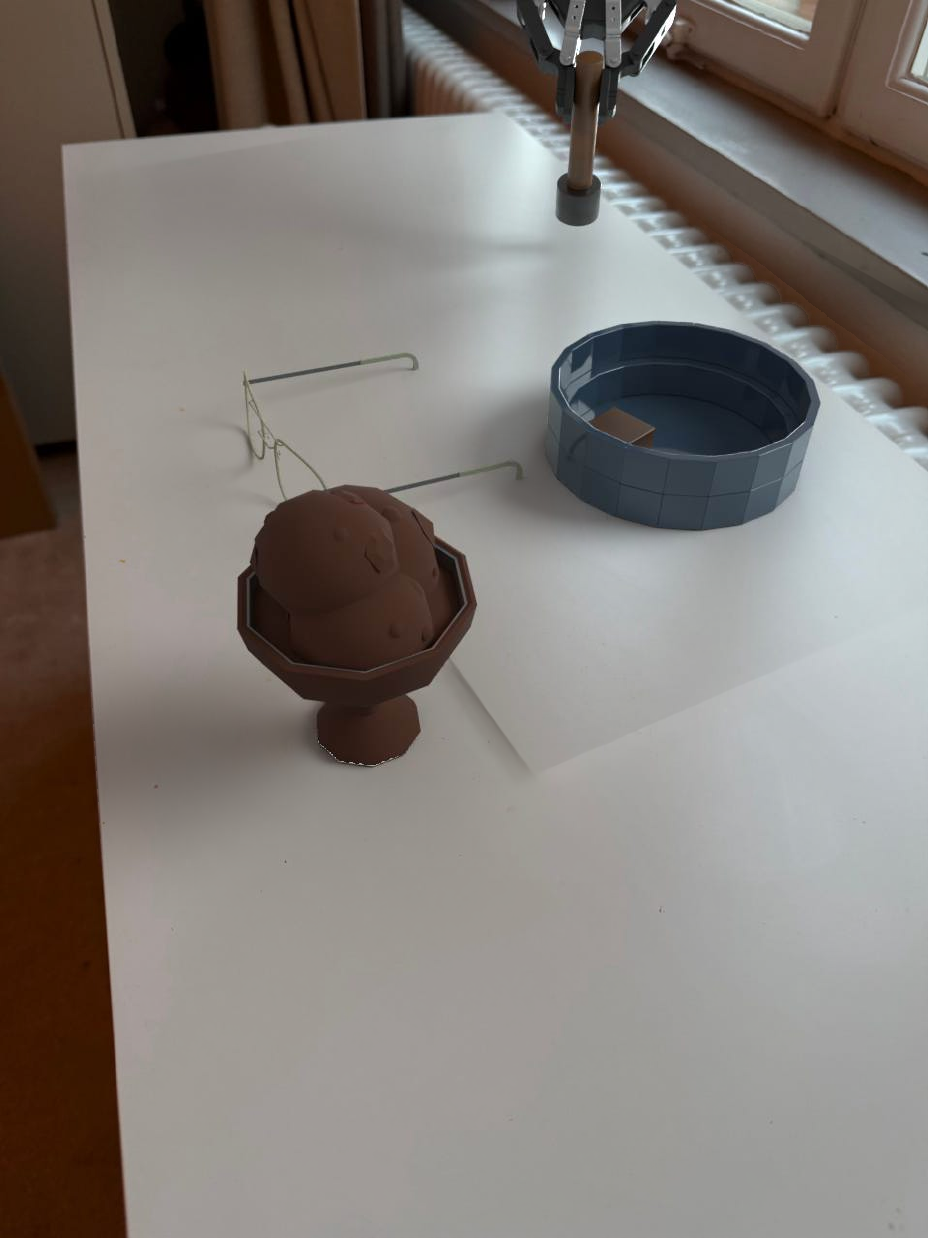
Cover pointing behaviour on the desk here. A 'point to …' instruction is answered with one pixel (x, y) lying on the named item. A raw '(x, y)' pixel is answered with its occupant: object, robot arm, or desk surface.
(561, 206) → the pestle
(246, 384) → the eyeglasses
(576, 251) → the desk surface
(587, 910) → the desk surface
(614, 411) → the block
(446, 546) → the ice cream bowl
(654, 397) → the bowl
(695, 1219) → the desk surface
